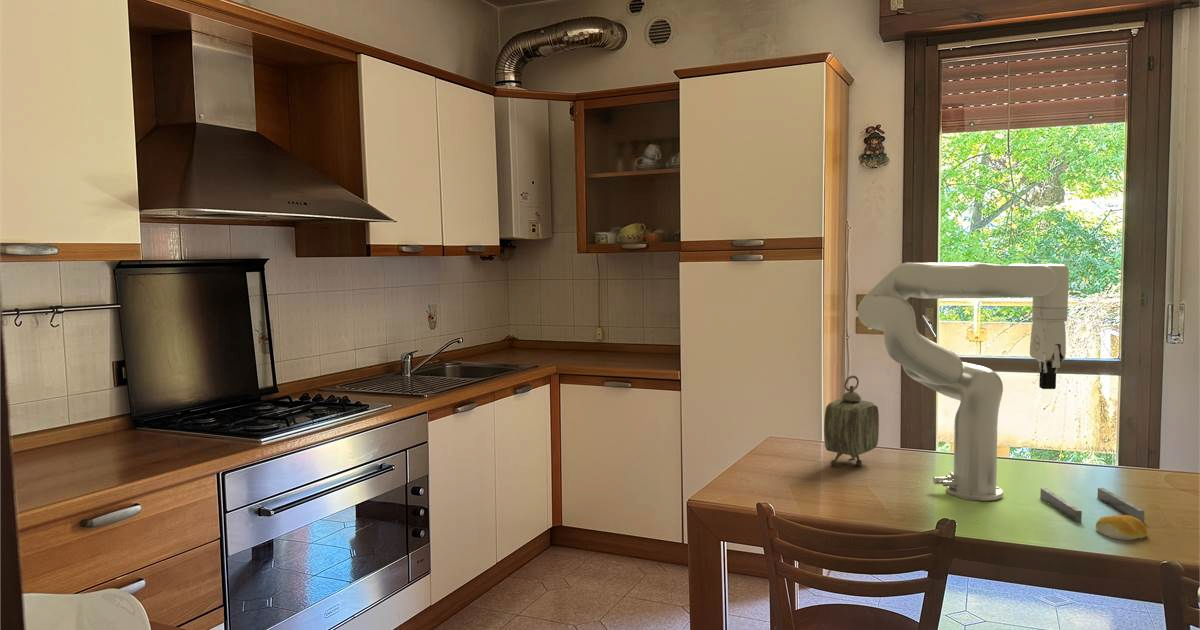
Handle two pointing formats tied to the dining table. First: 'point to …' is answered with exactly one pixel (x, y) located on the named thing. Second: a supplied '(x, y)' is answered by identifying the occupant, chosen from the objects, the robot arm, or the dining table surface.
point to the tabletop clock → (851, 425)
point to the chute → (1102, 495)
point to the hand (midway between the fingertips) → (1047, 388)
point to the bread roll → (1121, 527)
